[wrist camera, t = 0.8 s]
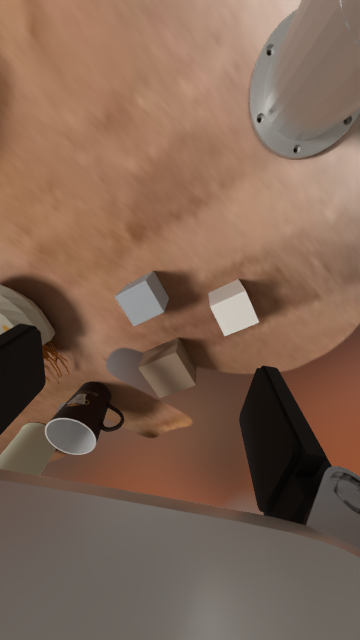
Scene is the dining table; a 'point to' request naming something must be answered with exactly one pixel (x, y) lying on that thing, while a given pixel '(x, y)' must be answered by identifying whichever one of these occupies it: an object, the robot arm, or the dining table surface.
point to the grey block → (143, 298)
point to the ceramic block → (232, 308)
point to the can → (28, 450)
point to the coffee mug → (81, 420)
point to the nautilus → (27, 321)
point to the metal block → (168, 368)
